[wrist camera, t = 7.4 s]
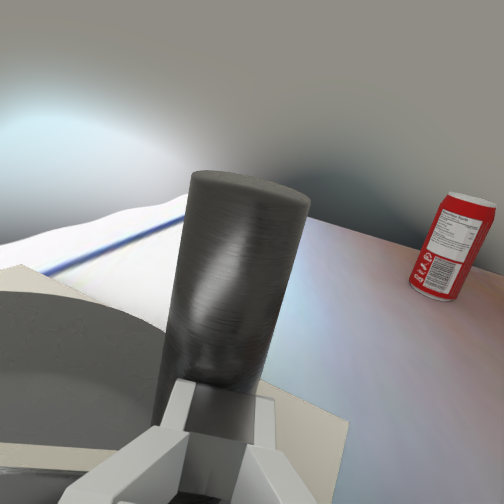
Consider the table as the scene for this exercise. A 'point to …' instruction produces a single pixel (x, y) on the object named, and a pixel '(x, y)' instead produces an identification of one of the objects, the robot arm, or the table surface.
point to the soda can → (452, 246)
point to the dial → (144, 341)
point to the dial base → (286, 405)
